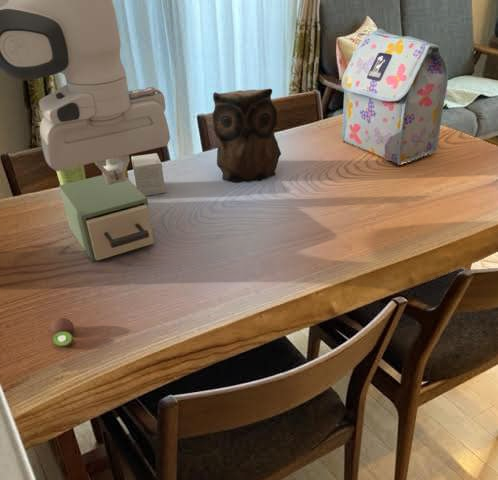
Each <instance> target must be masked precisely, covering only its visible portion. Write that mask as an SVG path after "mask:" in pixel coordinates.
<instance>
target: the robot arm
mask: <svg viewBox="0 0 498 480" xmlns="http://www.w3.org/2000/svg"><path fill="white" fill-rule="evenodd" d="M121 45H122V41H121V34H120V29H119V23H118V19H117V14H116V9H115V6H114V2H113V0H0V70H1V71H2V72H3V73H5V74H6V75H8V76H9V77H11V78H14V79H16V80H20V81H31V80H37V79H42V78H47V77H51V76H53V75H57V74H63V75H64V79H65V83H66V84H65V85H63V86H62V87H60V88H58V89H56V90H54V91H52V92H51V93H49V94H47V95H45V96H43V97H42V98H40V100H39V101H38V105H39V109H40V112H41V113H42V115H43V118H42V119H41V121H40V122H41V124H40V125H39V133H40V142H41V148H42V153H43V156H44V160H45V163H46V164H47V165H48V166H49V167H50V168H51V169H52V170H54V171H55V172H56V171H60V170H64V169H69V168H73V167H77V166H81V165H84V166H85V165H89V164H94V165H95V166H96V167H97V168H98V169H99V170H100V171H101V173H102V172H103V173H104V177H105V181H106V183H107V184H108V185H111V184H114V183H117V182H123V181H126V175H125V171H126V169H127V170H128V166H129V163H130V160H131V159H130V155H132V154H137V153H142V152H146V151H150V150H154V149H158V148H163V147H166V146H168V144H169V142H170V140H171V134H170V129H169V125H168V119H167V117H166V114H165V111H166V101H165V100H166V99H165V95H164V94H163V92H162V91H161V90H159V89H156V88H155V87H153V86H152V87H151V86H150V87H146V88H142V89H135V90H134V89H133V90H129V86H128V80H127V79H128V77H127V73H126V68H125V67H124V64H123V62H122V57H121ZM116 157H118V158H119V159H120V162H119V165H118V169H114V170H113V171H112V170H110V171H107V170H106V169H105V168H104V167H103V166H106V165H107V164H106V160H107V159H112V158H116ZM103 173H102V174H103Z"/></svg>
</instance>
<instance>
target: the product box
mask: <svg viewBox="0 0 498 480" xmlns="http://www.w3.org/2000/svg"><path fill="white" fill-rule="evenodd" d="M131 164H132V169H133V176H134V182H135V186H136V188H137V189H138V190H139V191H140V192H141V193H142V194H143V195H144V196H145V197H148V196H153V195H159V194H165V193H166V185H165V179H164V171H163V164H162V161H161V159H160V157H159V154H158V153H157V152H154V153H148V154H141V155H131Z"/></svg>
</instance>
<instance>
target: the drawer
mask: <svg viewBox="0 0 498 480" xmlns="http://www.w3.org/2000/svg"><path fill="white" fill-rule="evenodd" d="M148 208H149V205H148V206H147V205H142V206H140V204H138V205H134V206H131V207H127V208H123V209H120V210H116V211H112V212H109V213H105V214H101V215H97V216H94V217H90V218H86V220H87V221H86V222H87V226H88V231H89V235H90V239H91V243H92V247H93V251H94V255H95V258H96V260H95V261H100V260H103V259H108V258H111V257H113V256H116V255H121V254H123V253H127V252H130V251H133V250H137V249H140V248H143V247H146V246H150V245H152V244H155V240H154V241H153V239H154V235H153V234H152V233H153V228H151V227H152V221H151V222H150V220H151V214H150V209H148ZM149 214H150V215H149Z"/></svg>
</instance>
